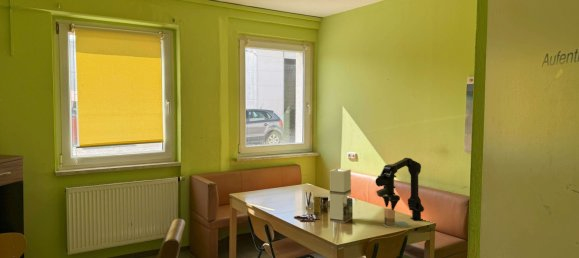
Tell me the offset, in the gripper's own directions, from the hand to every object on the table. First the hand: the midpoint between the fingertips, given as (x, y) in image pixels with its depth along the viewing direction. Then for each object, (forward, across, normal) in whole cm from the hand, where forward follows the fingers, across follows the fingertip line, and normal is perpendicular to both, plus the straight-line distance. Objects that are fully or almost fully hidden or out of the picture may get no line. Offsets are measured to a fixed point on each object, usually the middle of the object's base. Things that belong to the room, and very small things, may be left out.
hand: (389, 208), depth 280 cm
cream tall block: (+12, -22, -26) cm, 36 cm away
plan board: (+12, 0, +4) cm, 13 cm away
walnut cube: (+11, 0, 0) cm, 11 cm away
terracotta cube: (+6, 0, 0) cm, 6 cm away
